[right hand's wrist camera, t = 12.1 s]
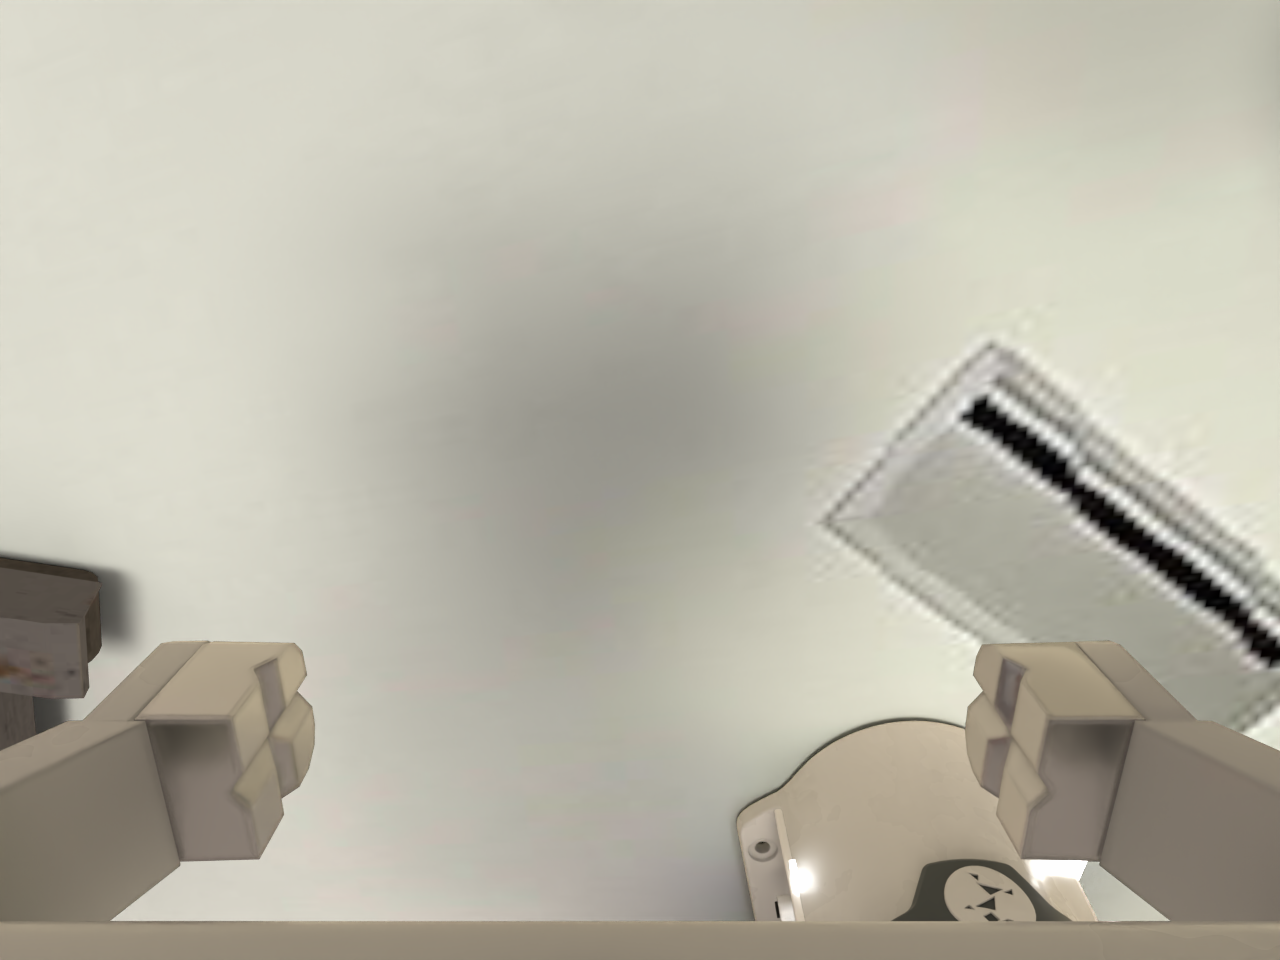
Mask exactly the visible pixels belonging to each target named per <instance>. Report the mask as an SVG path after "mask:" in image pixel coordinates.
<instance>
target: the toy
mask: <svg viewBox="0 0 1280 960" xmlns="http://www.w3.org/2000/svg"><path fill="white" fill-rule="evenodd" d="M101 586H102V583H101V582H98V577H97V576H96V575H95V574H94V573H92V572H89V571H85V570H79V569H72V568H66V567H59V566H52V565H45V564H39V563H32V562H25V561H18V560H11V559H5V558H0V751H1V750H3V749H6V748H8V747H10V746H12V745H15V744H17V743H19V742H21V741H24V740H26V739H28V738H31V737H33V736H35V735H36V729H35V718H34V707H33V696H34V697H42V698H49V699H61V698H84V697H85V695H86V693H87V691H88V689H89V676H88V663H89V662H90V661H92V660H93V658H94V657H95V656H96V655H97V654H98V653H99V651H100V648H101V646H102V642H101V624H100V606H99V590H100V588H101Z"/></svg>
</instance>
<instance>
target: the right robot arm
mask: <svg viewBox="0 0 1280 960" xmlns="http://www.w3.org/2000/svg"><path fill="white" fill-rule="evenodd" d="M306 676H307V672H306V667H305V662H304V657H303V652H302V650H301V649H300V648H299V647H298V646H297V645H296V644H295V643H274V642H223V641H214V642H210V641H172V642H166V643H161V644H160V645H159V646H158V647H157V648H156V649H155V650H154V651H153V652H152V653H151V654H150V655H149V656H148V657H147V658H146V659H145V660H144V661H143V662H142V663H141V664H140V665H139V666H138V667H137V668H136V669H135V670H134V671H133V672H132V673H131V674H130V675H129V676H127V677H126V678H125V679H124V680H123V681H122V682H121V683H120V684H119V685H118V686H117V687H116V688H115V689H114V690H113V691H112V692H111V693H110V694H109V695H108V696H107V697H106V698H105V699H104V700H103V701H102V702H101V703H100V704H99V705H98V706H97V707H96V708H95V709H94V710H93V711H92V712H91V713H90V714H89V715H88V716H87V717H86V718H85V719H84V720H83V721H67V722H64V723H62V724H60V725H58V726H55V727H53V728H51V729H49V730H46V731H44V732H42V733H40V734H37V735H35V736H33V737H31V738H28V739H26V740H24V741H21V742H19V743H17V744H15V745H12V746H10V747H8V748H6V749H3V750H1V751H0V960H1280V751H1279V750H1276V749H1274V748H1272V747H1270V746H1267V745H1265V744H1263V743H1261V742H1258V741H1256V740H1254V739H1252V738H1249V737H1247V736H1245V735H1243V734H1240V733H1238V732H1236V731H1234V730H1231V729H1229V728H1227V727H1225V726H1222V725H1220V724H1218V723H1216V722H1213V721H1197V720H1196V719H1195V718H1194V717H1193V716H1192V715H1191V714H1190V713H1189V712H1188V711H1187V710H1186V709H1185V708H1184V707H1183V706H1182V705H1181V704H1180V703H1179V702H1178V701H1177V700H1176V699H1175V698H1174V697H1173V696H1172V695H1171V694H1170V693H1169V692H1168V691H1167V690H1166V689H1165V688H1164V687H1163V686H1162V685H1161V684H1160V683H1159V682H1158V681H1157V680H1156V679H1155V678H1154V677H1153V676H1152V675H1151V674H1150V673H1149V672H1148V671H1147V670H1146V669H1145V668H1144V667H1143V666H1142V665H1140V664H1139V663H1138V662H1137V661H1136V660H1135V659H1134V658H1133V657H1132V656H1131V655H1130V654H1129V653H1128V652H1127V651H1126V650H1125V649H1124V648H1123V647H1122V646H1121V645H1120V644H1117V643H1115V642H1112V641H1109V640H1105V641H1079V642H1046V643H1006V644H983V645H981V648H980V650H979V652H978V654H977V656H976V661H975V666H974V672H973V676H974V677H975V679H976V680H977V682H978V684H979V685H980V687H981V688H982V690H983V692H982V693H981V694H980V695H979V696H978V697H977V698H976V699H975V700H974V701H973V702H972V703H971V704H970V705H969V706H968V709H967V717H966V725H965V729H963V728H960V727H956V726H953V725H949V724H944V723H938V722H930V721H900V722H891V723H885V724H880V725H876V726H872V727H868V728H865V729H862V730H859V731H857V732H854V733H852V734H849V735H847V736H845V737H843V738H841V739H839V740H837V741H835V742H833V743H832V744H830V745H828V746H827V747H825V748H824V749H822V750H821V751H820V752H818V753H817V754H816V755H814V756H813V757H812V758H811V759H810V760H809V761H808V762H807V763H806V764H805V765H803V766H802V768H801V769H800V770H799V771H798V772H797V773H796V774H795V775H794V776H793V778H792V779H791V780H790V781H789V782H788V783H787V784H786V785H785V786H784V787H782V788H781V789H780V790H779V791H777V792H775V793H773V794H771V795H769V796H767V797H765V798H763V799H761V800H759V801H757V802H755V803H753V804H752V805H750V806H749V807H747V808H746V809H744V810H743V811H742V812H741V813H740V815H739V816H738V818H737V831H738V836H739V841H740V847H741V852H742V857H743V862H744V867H745V872H746V877H747V882H748V888H749V893H750V898H751V903H752V908H753V913H754V918H755V921H110V920H112V919H113V918H114V917H115V916H117V915H118V914H119V913H120V912H122V911H123V910H124V909H126V908H127V907H128V906H129V905H131V904H132V903H133V902H135V901H136V900H137V899H138V898H140V897H141V896H142V895H143V894H145V893H146V892H147V891H149V890H150V889H151V888H152V887H154V886H155V885H156V884H158V883H159V882H160V881H161V880H163V879H164V878H165V877H166V876H168V875H169V874H170V873H172V872H173V871H174V870H175V869H177V868H178V867H179V866H180V861H215V860H250V859H260V857H261V855H262V853H263V852H264V850H265V848H266V846H267V845H268V843H269V841H270V839H271V837H272V836H273V834H274V832H275V830H276V828H277V827H278V825H279V823H280V821H281V819H282V818H283V816H284V811H283V805H282V800H281V798H283V797H285V796H286V795H288V794H289V793H291V792H292V791H294V790H295V789H297V788H298V787H300V785H301V783H302V781H303V779H304V777H305V775H306V773H307V771H308V769H309V766H310V762H311V757H312V753H313V749H314V745H315V722H314V715H313V708H312V706H311V705H310V704H309V703H308V702H307V701H306V700H305V699H304V698H303V697H302V696H301V695H300V694H299V693H298V692H297V690H298V688H299V687H300V685H301V684H302V682H303V680H304V679H305V677H306ZM759 842H765V843H763V844H758V843H759ZM1087 861H1100V864H1099V865H1100V866H1101V867H1102V868H1104V869H1105V870H1106V871H1108V872H1109V873H1110V874H1111V875H1113V876H1114V877H1115V878H1116V879H1118V880H1119V881H1120V882H1122V883H1123V884H1124V885H1125V886H1127V887H1128V888H1129V889H1130V890H1132V891H1133V892H1134V893H1136V894H1137V895H1138V896H1139V897H1141V898H1142V899H1143V900H1144V901H1146V902H1147V903H1148V904H1150V905H1151V906H1152V907H1153V908H1155V909H1156V910H1157V911H1159V912H1160V913H1161V914H1162V915H1164V916H1165V917H1166V918H1167V919H1169V920H1170V921H1098V919H1097V917H1096V915H1095V913H1094V911H1093V909H1092V907H1091V905H1090V903H1089V901H1088V899H1087V897H1086V895H1085V893H1084V891H1083V888H1082V886H1081V884H1080V882H1079V879H1080V876H1081V874H1082V872H1083V870H1084V868H1085V865H1086V863H1087Z"/></svg>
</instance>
